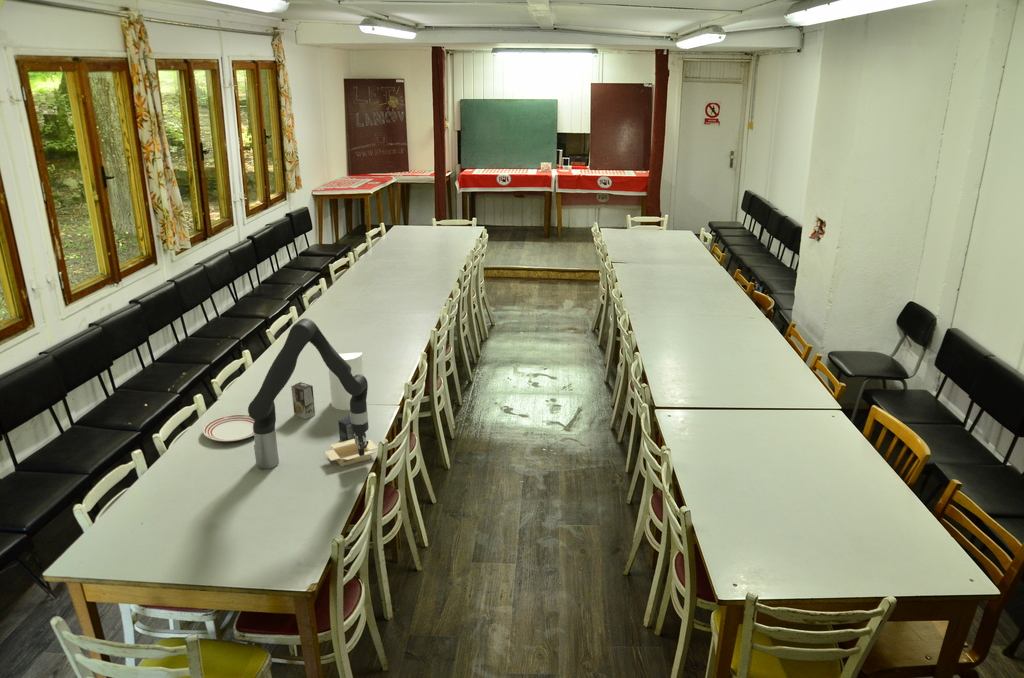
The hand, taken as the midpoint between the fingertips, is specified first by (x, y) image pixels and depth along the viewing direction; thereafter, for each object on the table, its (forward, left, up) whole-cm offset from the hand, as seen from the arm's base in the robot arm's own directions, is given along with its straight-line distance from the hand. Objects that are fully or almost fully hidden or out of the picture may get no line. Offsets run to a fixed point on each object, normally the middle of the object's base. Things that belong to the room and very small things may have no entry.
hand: (361, 454), depth 334 cm
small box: (+7, +31, -8) cm, 33 cm away
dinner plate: (-40, +65, -9) cm, 77 cm away
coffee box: (-5, +66, -8) cm, 67 cm away
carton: (0, +15, -8) cm, 17 cm away
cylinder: (+19, +68, -8) cm, 71 cm away
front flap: (0, +7, -4) cm, 8 cm away
